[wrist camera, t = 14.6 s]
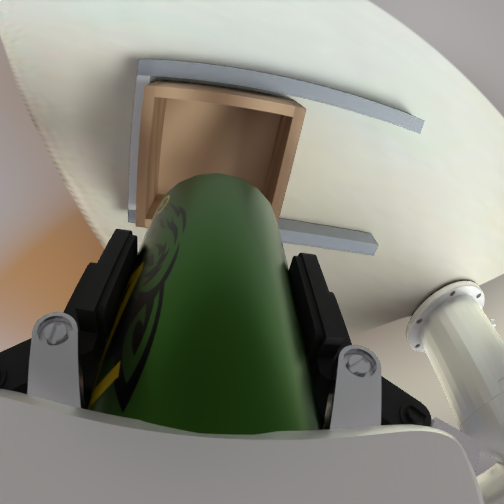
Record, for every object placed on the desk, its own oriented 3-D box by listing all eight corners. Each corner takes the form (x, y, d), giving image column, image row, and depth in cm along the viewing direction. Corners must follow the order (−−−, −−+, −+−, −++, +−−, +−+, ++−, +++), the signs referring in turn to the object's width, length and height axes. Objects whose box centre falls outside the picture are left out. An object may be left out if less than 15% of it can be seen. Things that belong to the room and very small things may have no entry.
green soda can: (283, 172, 13) (386, 483, 3) (266, 273, 16) (300, 528, 6) (155, 163, 13) (18, 462, 3) (159, 267, 16) (109, 520, 6)
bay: (412, 115, 23) (424, 120, 22) (366, 243, 31) (373, 255, 29) (146, 58, 20) (138, 59, 18) (134, 211, 27) (128, 222, 26)
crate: (292, 99, 23) (306, 109, 18) (265, 212, 28) (272, 244, 24) (161, 79, 21) (144, 85, 17) (150, 197, 26) (135, 226, 22)
